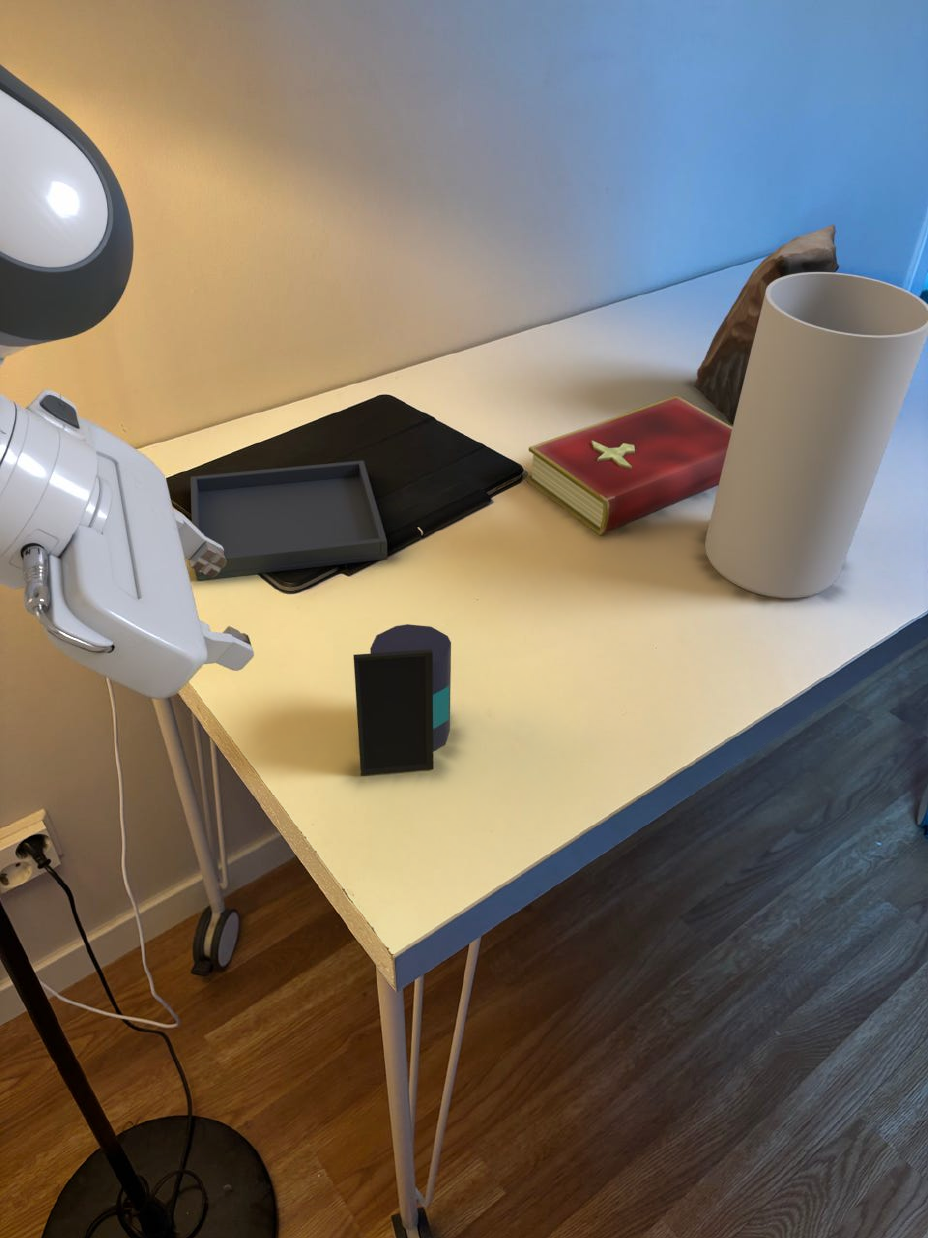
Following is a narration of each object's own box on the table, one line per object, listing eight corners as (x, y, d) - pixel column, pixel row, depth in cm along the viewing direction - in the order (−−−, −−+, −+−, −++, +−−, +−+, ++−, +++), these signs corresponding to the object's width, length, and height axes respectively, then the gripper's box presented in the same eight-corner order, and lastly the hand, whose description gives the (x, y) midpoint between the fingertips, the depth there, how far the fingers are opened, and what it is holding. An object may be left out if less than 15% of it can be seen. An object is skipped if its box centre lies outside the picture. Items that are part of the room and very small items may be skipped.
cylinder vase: (867, 585, 87) (970, 324, 71) (752, 615, 84) (833, 346, 67) (785, 512, 96) (860, 265, 80) (678, 535, 92) (734, 281, 76)
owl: (792, 383, 118) (839, 216, 105) (825, 434, 108) (881, 258, 95) (691, 381, 117) (726, 213, 104) (716, 433, 108) (756, 256, 95)
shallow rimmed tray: (196, 581, 85) (193, 562, 84) (193, 494, 95) (190, 476, 94) (387, 559, 88) (387, 540, 87) (364, 477, 99) (363, 460, 97)
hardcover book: (750, 474, 101) (759, 439, 99) (602, 537, 92) (608, 500, 89) (670, 426, 109) (677, 392, 106) (525, 480, 99) (529, 444, 96)
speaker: (436, 788, 68) (434, 673, 62) (358, 776, 69) (349, 661, 63) (459, 720, 74) (459, 609, 68) (387, 710, 75) (382, 599, 69)
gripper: (66, 574, 42) (301, 683, 51) (49, 375, 57) (235, 487, 66) (-13, 669, 44) (229, 758, 53) (-9, 452, 59) (180, 551, 68)
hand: (232, 606), depth 60 cm, fingers open, 8 cm apart
